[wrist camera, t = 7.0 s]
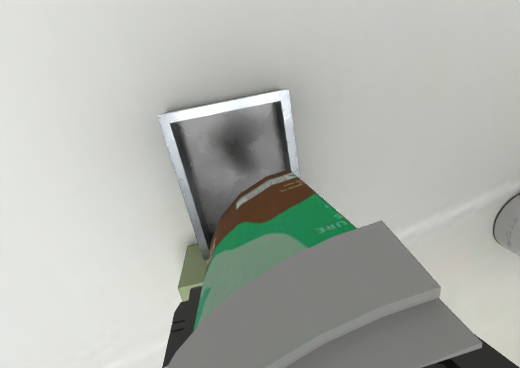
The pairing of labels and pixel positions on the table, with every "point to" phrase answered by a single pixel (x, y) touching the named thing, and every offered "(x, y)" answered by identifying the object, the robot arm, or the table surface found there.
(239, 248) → the food container
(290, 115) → the gray open tray
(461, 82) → the table surface
